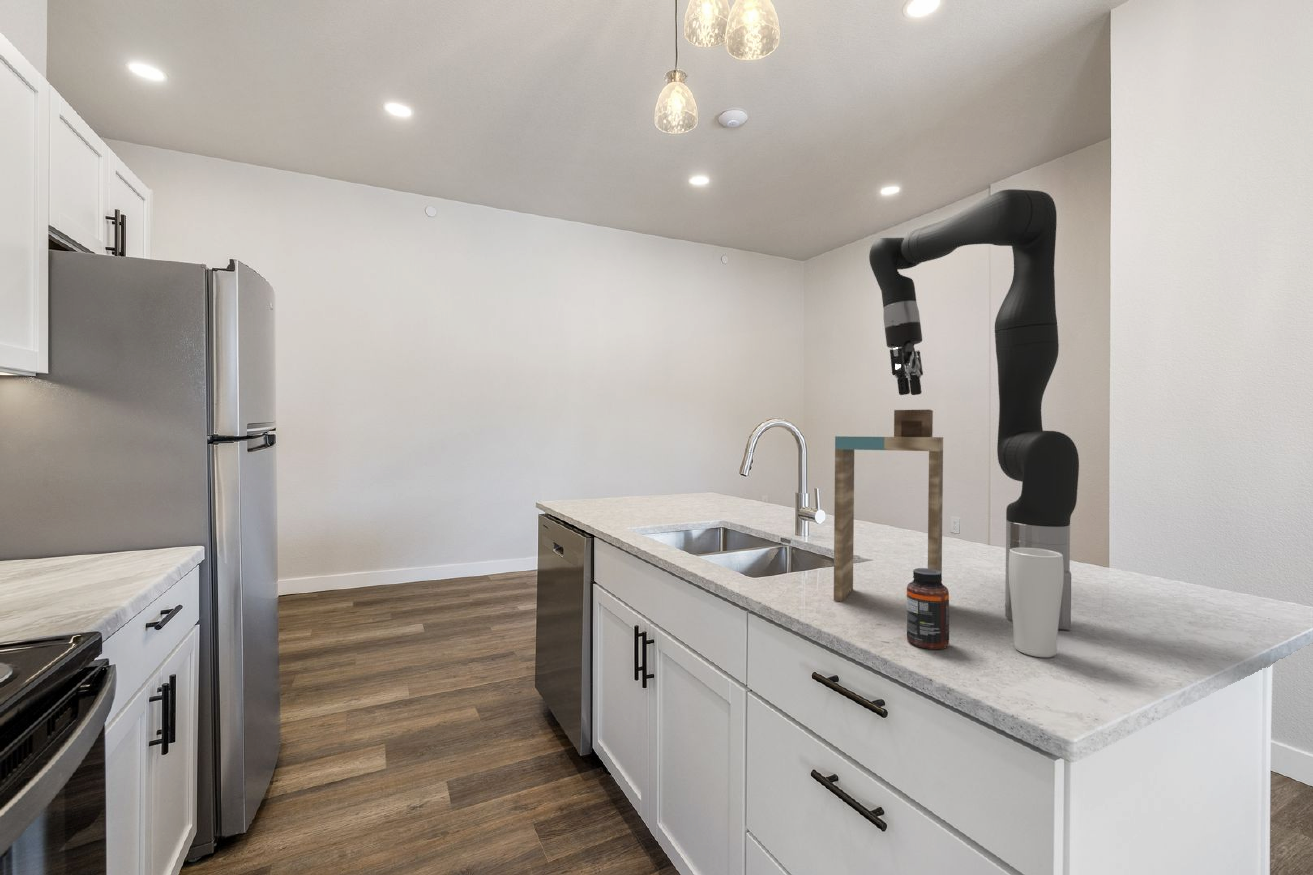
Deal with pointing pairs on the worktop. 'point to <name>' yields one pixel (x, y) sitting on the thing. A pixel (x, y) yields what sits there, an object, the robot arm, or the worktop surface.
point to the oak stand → (846, 500)
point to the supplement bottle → (927, 610)
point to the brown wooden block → (913, 423)
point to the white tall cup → (1035, 599)
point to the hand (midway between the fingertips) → (910, 394)
